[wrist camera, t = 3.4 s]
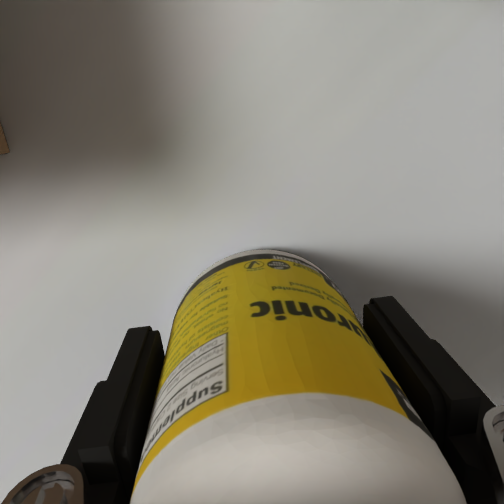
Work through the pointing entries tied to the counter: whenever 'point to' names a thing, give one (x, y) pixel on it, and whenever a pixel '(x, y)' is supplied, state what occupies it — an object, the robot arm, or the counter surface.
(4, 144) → the walnut block
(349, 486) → the supplement bottle
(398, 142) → the counter surface
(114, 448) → the robot arm
